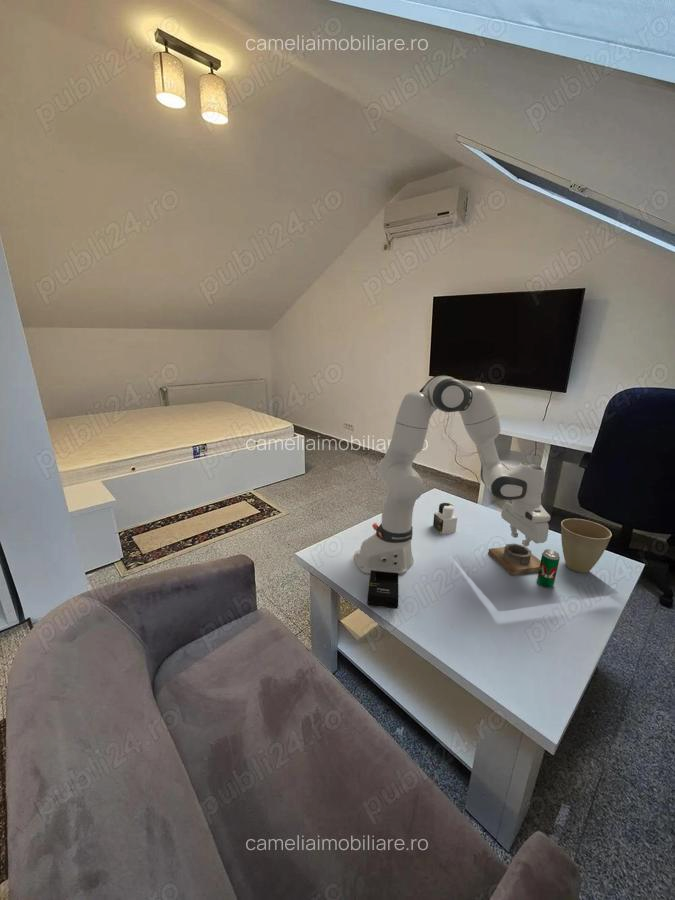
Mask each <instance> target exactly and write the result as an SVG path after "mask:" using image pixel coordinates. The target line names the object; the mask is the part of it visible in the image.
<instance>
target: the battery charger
mask: <svg viewBox="0 0 675 900" xmlns="http://www.w3.org/2000/svg"><path fill="white" fill-rule="evenodd" d="M369 575H370V576H369V582H368V584H369V585H368V589H367V590H368V592H367V600H366V601H367V602H366V603H367V606H368V607H369V606H370V607H379V608H387V609H397V610H398V609H399V574H398V573H393V572H383V571H373V570H371V573H370V574H369Z"/></svg>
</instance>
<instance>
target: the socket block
mask: <svg viewBox="0 0 675 900" xmlns="http://www.w3.org/2000/svg"><path fill="white" fill-rule="evenodd" d="M487 552H488V555H489V556H491V557H492V558H493V559H494V560H495V561H496V563H498V564H499V565H500V566H501V567H502V568H503V569H504V570H505V571H506V572H507V573H508V574H509V575H510V576H515V575H524V574H532V573H538V572H539V567H540V562H541V559H539V558H538V557H536V555H534V554H533V553H532V550H531V549H529V548H528V546H524V545H523V544H518V543H506V545H505V546H502V547H501V546H500V547H493V548H488V551H487Z"/></svg>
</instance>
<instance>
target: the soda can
mask: <svg viewBox="0 0 675 900" xmlns="http://www.w3.org/2000/svg"><path fill="white" fill-rule="evenodd" d="M560 559H561V558H560V555H559V552H557V551H555V550H553V549H548V548H547V549H544V550H543V552H542V553H541V557H540V561H541V562H540V567H539V572H537V578H536V581H537V583H538V584H539V585H540V586H541V587H544V588H553V587H554V586H555V580H556V577H557V572H558V569H559V564H560V563H559V562H560Z"/></svg>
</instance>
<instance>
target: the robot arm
mask: <svg viewBox="0 0 675 900" xmlns="http://www.w3.org/2000/svg"><path fill="white" fill-rule="evenodd" d="M436 410H439V411H440V412H441V411H442V412H444V413H454V412H458V413H459V414H460V416H461V419H462V423H463V426H464V429H465V430H466V432H467V434H468V437H469V438H470V439H471V441H472V443H474V445H475V447H476V449H477V454H478V457H479V459H480V463H481V464H480V465H481V466H480V480H481V482H482V483H483V485H485V486H486V487H487V489H488V491H489V492H490V493H491V495H493V496H494V497H495V498H496V499H497V500H501V501H505V502H504V504H503V506H502V509H501V512H500V513H501V514H500V516H501V518H502V519H503V521H505V522H506V523H508V524H509V528H510V531H511V532H510V533H511V534H510V535H511V537H512V538H518V536H519V532H520V533H521V534H523V535H524V538H525V539H522V543H521V545H522V546H524V547H529V546H530V542H533V543H535V544H544V543H545V542H547V540H548V536H549V530H550V529H549V528H550V527H549V522H550V520H551V515H550V514H549V513H548V511H546V510H545V508H544V507H543V504H542V498H541V497H542V493H543V491H544V487H545V479H546V478H545V476H546V475H545V470H544V468H542V467H541V466H540V465H538V464H535V463H534V462H529V461H522V462H520V464H517V466H514V467H512V468H507V466H506V465H505V464H504V463H503V462H502V461H501V460H500V458H499V455H498V451H497V447H496V444H495V439H497V437H498V436H499V435H500V432H501V430H502V429H501V422H500V417H499V413H498V411H497V409H496V406H495V404H494V401H493V399H492V397H491V395H490V393H489V391H488V390H487V389H486V388H485V387H484V386H482V385H479V384H478V385H471V386H467V385H466V384H465V383H464V382H462V381H461V380H459V379H457V378H454V377H452V376H450V375H449V376H448V375H435V376H433V377H432V378H430V379H428V381H426V383H425V385H424V386H422V388H420V390H419V391H411V392H408V393H407V394H405V395H404V396H403V399H402V401H401V403H400V406H399V409H398V411H397V415H396V419H395V421H394V422H395V423H394V427H393V431H392V435H391V440H390V443H389V445H388V447H387V451H386V452H385V455H384V457H383V458H381V460H379V463H378V465H377V471H378V475H379V476H378V477H380V480H381V481H382V483H383V484H384V485H385V486H386V490H387V495H386V498H385V501H384V502H383V504H382V506H381V507H382V508H381V523H380V524H379V525H378V524H377V522H375V523H373V524H372V526H371V527H372V528H373V530H374V531H375V533H374V534H372V535H371V536H369V537H368V538H366V539H364V540H363V541H362V543H361V545H360V549H357V550H356V551H354V555H353V557H354V562H355V566H356V567H357V568H358V570H359V571H360V572H361V573H363V574H366V575H367V574H368V575H370V573H371V570H373V571H383V572H393V573H398V575H404V574H405V575H406V573H407V571H408V569H409V568H410V567H412V566H413V564H414V556H413V551H412V540H413V533H414V532H413V525H412V524H413V513H414V507H415V505H416V501H417V500H418V499H420V497H421V496H422V495H423V493H424V489H425V487H424V485H425V484H424V482H423V479H422V478H421V475H420V474H419V473H418V472H417V471H416V470H415V469H414V468H413V462H414V460H415V458H416V456H417V455H418V454H419V453H420V452H422V450H423V448H424V445H425V441H426V436H427V432H428V428H429V424H430V420H431V417H432V416H433V414H434V413H435V411H436ZM518 531H519V532H518Z"/></svg>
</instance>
